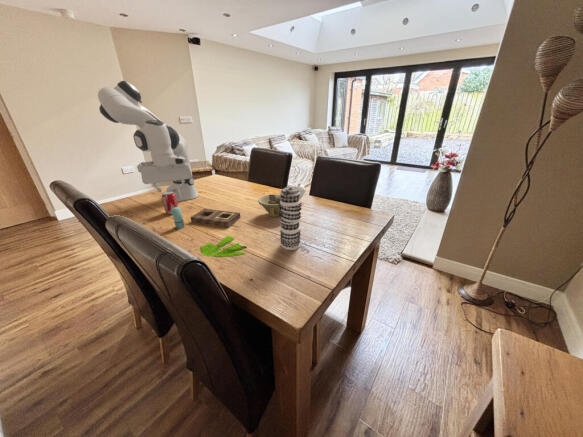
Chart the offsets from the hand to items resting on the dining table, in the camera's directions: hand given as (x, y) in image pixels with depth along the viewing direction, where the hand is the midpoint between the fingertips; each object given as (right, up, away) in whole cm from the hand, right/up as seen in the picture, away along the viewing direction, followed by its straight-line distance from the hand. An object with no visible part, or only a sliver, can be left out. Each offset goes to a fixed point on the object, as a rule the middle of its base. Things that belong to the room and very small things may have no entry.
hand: (171, 190), depth 109 cm
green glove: (+29, -26, -9) cm, 40 cm away
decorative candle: (+56, -24, -8) cm, 61 cm away
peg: (0, -17, +8) cm, 19 cm away
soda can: (-12, -10, +25) cm, 29 cm away
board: (+16, -14, +15) cm, 26 cm away
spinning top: (+61, -2, +40) cm, 73 cm away
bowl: (+47, -11, +21) cm, 53 cm away
